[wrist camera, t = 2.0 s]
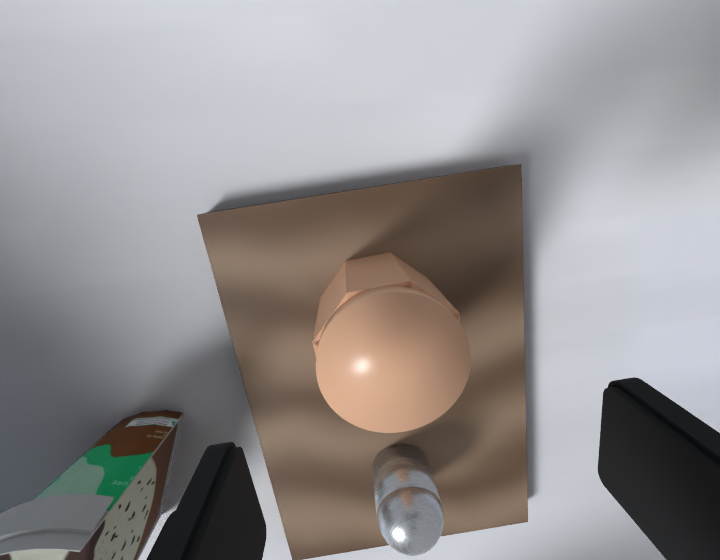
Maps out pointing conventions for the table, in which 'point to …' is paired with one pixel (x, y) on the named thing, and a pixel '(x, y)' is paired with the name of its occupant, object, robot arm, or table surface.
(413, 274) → the cap
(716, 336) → the table surface
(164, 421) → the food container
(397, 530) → the stud
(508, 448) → the board
